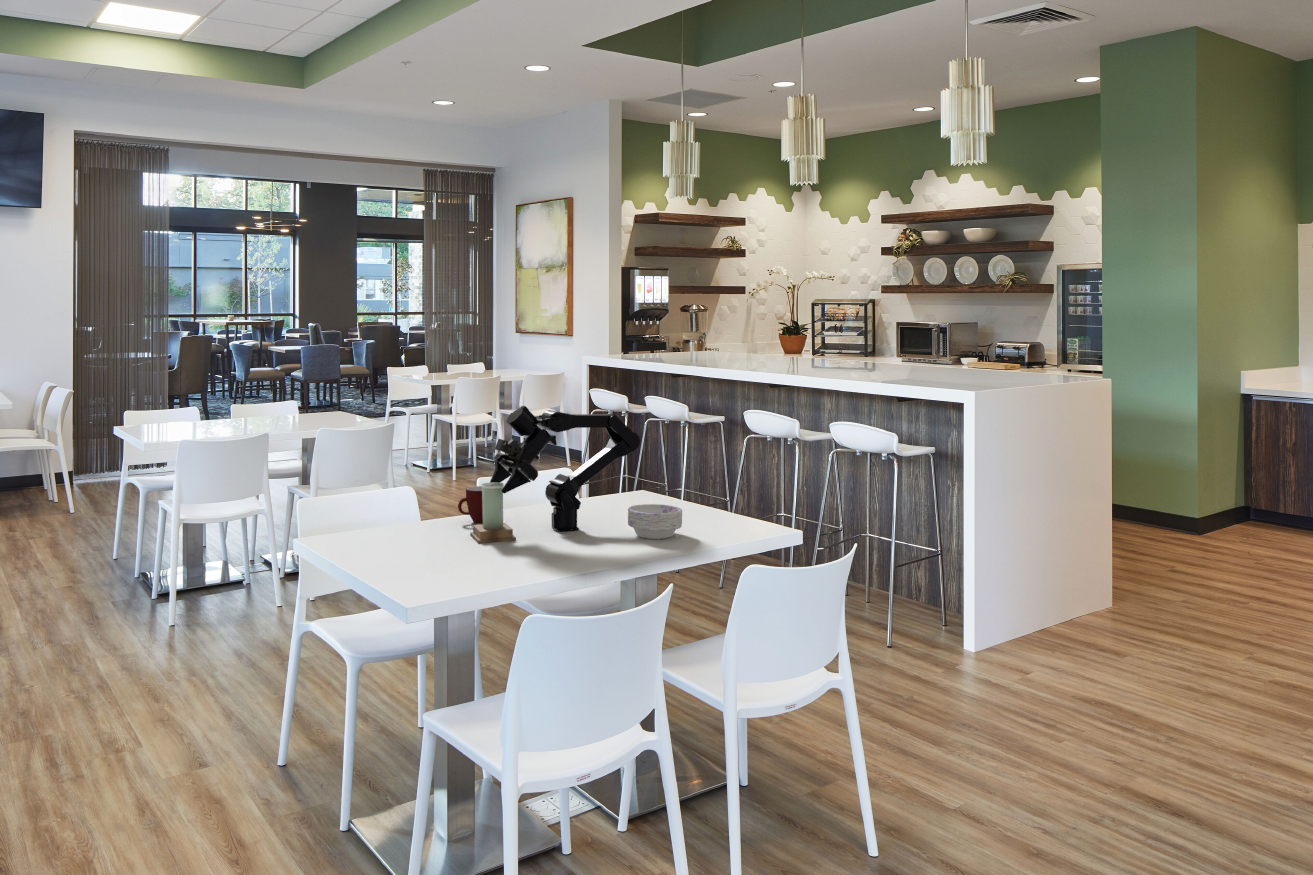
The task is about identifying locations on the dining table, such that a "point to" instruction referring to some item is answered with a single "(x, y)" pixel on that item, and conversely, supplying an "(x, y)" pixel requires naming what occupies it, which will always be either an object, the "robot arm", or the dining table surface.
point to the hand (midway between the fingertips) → (495, 489)
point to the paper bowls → (654, 520)
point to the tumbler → (492, 505)
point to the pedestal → (492, 534)
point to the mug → (473, 504)
